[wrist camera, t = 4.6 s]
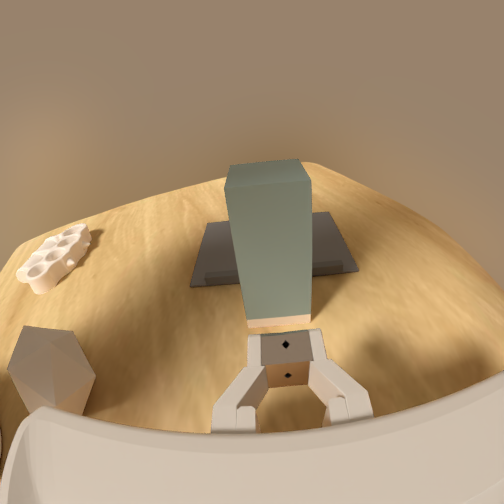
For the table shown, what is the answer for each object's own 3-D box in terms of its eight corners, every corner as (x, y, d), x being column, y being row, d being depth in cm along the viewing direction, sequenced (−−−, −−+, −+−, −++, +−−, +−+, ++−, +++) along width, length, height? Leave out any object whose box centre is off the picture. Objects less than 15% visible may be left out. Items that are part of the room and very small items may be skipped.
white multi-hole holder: (57, 242, 50) (107, 234, 49) (12, 295, 35) (62, 295, 34) (51, 229, 49) (102, 219, 48) (3, 280, 34) (52, 277, 32)
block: (248, 328, 27) (224, 188, 19) (248, 288, 32) (230, 165, 24) (310, 322, 26) (311, 180, 19) (302, 283, 31) (298, 158, 24)
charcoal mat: (190, 286, 33) (187, 279, 32) (207, 224, 46) (206, 217, 46) (358, 271, 32) (359, 263, 31) (328, 212, 45) (328, 206, 44)
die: (127, 385, 22) (73, 297, 22) (82, 437, 14) (9, 320, 13) (80, 404, 23) (33, 328, 22) (37, 445, 14) (-21, 352, 14)
